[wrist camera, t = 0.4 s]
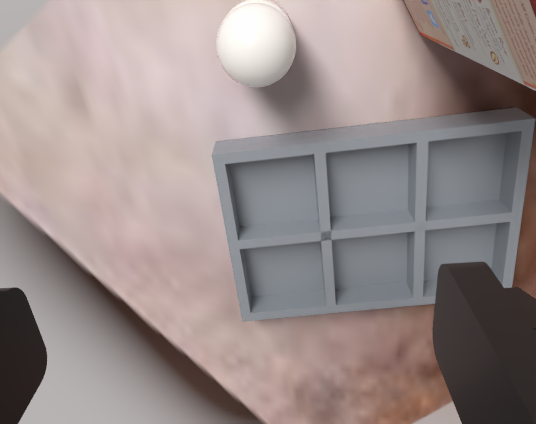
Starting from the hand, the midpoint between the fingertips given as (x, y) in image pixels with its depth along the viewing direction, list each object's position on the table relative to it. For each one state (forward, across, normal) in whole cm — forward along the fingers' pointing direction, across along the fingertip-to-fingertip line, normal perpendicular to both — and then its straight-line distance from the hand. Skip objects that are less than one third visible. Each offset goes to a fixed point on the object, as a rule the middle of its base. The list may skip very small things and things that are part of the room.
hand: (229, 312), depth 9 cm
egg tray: (+28, -7, +13) cm, 32 cm away
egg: (+28, 0, -2) cm, 28 cm away
